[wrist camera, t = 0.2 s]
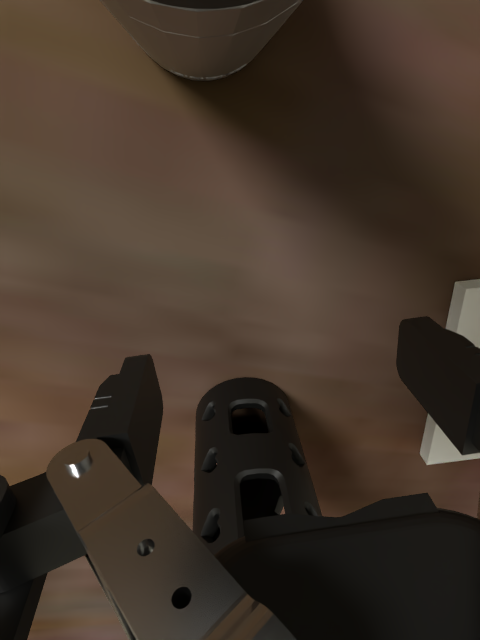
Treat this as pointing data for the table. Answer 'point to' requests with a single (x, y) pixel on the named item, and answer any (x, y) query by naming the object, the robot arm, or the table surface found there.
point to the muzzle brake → (246, 463)
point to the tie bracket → (476, 325)
